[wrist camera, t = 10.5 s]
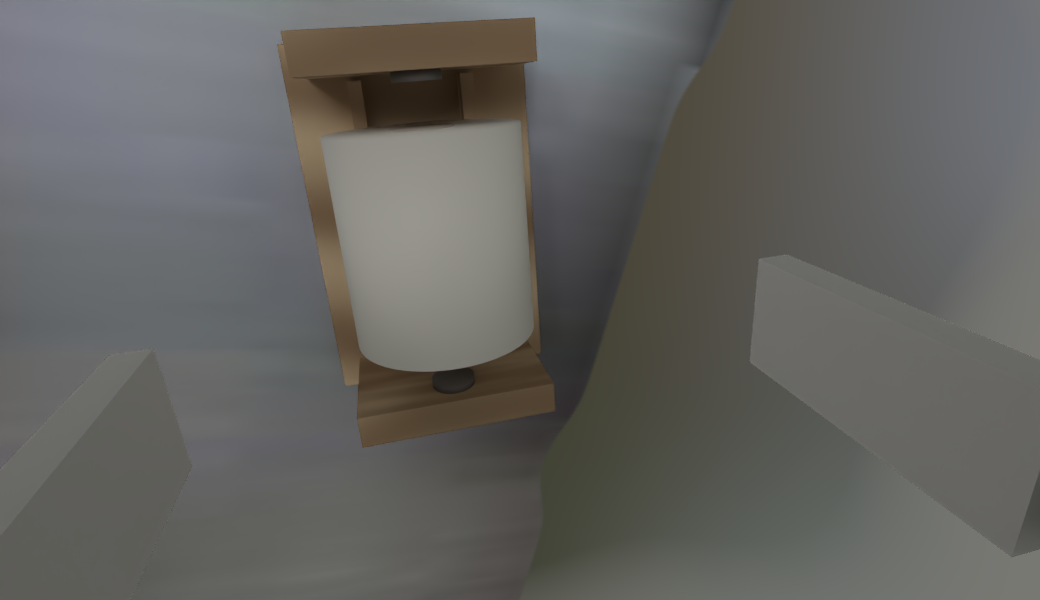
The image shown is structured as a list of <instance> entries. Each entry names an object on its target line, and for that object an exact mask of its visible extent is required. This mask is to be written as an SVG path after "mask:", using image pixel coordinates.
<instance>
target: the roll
mask: <svg viewBox="0 0 1040 600" xmlns="http://www.w3.org/2000/svg"><path fill="white" fill-rule="evenodd" d="M320 140H321V145H322V151H323V156H324V161H325V167H326V172H327V177H328V183H329V188H330V194H331V199H332V204H333V210H334V215H335V220H336V226H337V231H338V236H339V242H340V247H341V252H342V258H343V263H344V269H345V274H346V279H347V285H348V290H349V295H350V301H351V306H352V311H353V317H354V322H355V327H356V333H357V338H358V344H359V349H360V351H361V353H362V354H363V355H364V356H365V357H366V358H367V359H368V360H370V361H371V362H373V363H376V364H378V365H381V366H384V367H387V368H391V369H396V370H403V371H416V372H433V371H446V370H453V369H460V368H465V367H470V366H474V365H478V364H482V363H485V362H488V361H491V360H494V359H497V358H499V357H501V356H504V355H506V354H508V353H510V352H512V351H513V350H515V349H516V348H518V347H520V346H521V345H522V344H523V343H524V342H526V341H527V339H528V338H529V337H530V336H531V334H532V332H533V329H534V318H533V303H532V287H531V272H530V256H529V241H528V226H527V210H526V195H525V179H524V164H523V149H522V133H521V121H520V120H517V119H505V118H485V119H459V120H442V121H428V122H416V123H405V124H395V125H385V126H377V127H368V128H361V129H354V130H347V131H341V132H336V133H331V134H327V135H324V136H322V137H320Z"/></svg>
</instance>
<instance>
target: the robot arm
mask: <svg viewBox="0 0 1040 600" xmlns="http://www.w3.org/2000/svg"><path fill="white" fill-rule="evenodd" d="M754 307H755V308H754V318H753V329H752V340H751V352H750V363H751V364H753V365H754V366H755V367H757V368H758V369H759V370H761V371H762V372H763V373H765V374H766V375H767V376H769V377H770V378H772V379H773V380H774V381H776V382H777V383H778V384H780V385H781V386H782V387H784V388H785V389H786V390H788V391H789V392H790V393H792V394H793V395H794V396H796V397H797V398H798V399H800V400H801V401H802V402H804V403H805V404H806V405H808V406H809V407H811V408H812V409H813V410H815V411H816V412H817V413H819V414H820V415H821V416H823V417H824V418H825V419H827V420H828V421H829V422H831V423H832V424H833V425H835V426H836V427H837V428H839V429H840V430H841V431H843V432H844V433H845V434H847V435H848V436H849V437H851V438H852V439H854V440H855V441H856V442H858V443H859V444H860V445H862V446H863V447H865V448H866V449H867V450H868V451H870V452H871V453H872V454H874V455H875V456H876V457H878V458H879V459H880V460H882V461H883V462H885V463H886V464H887V465H888V466H890V467H891V468H893V469H894V470H895V471H897V472H898V473H900V474H901V475H902V476H903V477H905V478H906V479H907V480H909V481H910V482H911V483H913V484H914V485H915V486H917V487H918V488H919V489H921V490H922V491H923V492H925V493H926V494H928V495H929V496H930V497H931V498H933V499H934V500H936V501H937V502H938V503H940V504H941V505H942V506H944V507H945V508H946V509H948V510H949V511H951V512H952V513H953V514H954V515H956V516H957V517H958V518H960V519H961V520H962V521H964V522H965V523H967V524H968V525H969V526H970V527H972V528H973V529H975V530H976V531H977V532H979V533H980V534H981V535H983V536H984V537H985V538H987V539H988V540H989V541H991V542H992V543H993V544H995V545H996V546H997V547H999V548H1000V549H1002V550H1003V551H1004V552H1005V553H1007V554H1008V555H1010V556H1011V557H1014V556H1018V555H1021V554H1025V553H1028V552H1032V551H1035V550H1039V549H1040V360H1039V359H1036V358H1034V357H1031V356H1029V355H1027V354H1024V353H1022V352H1019V351H1017V350H1014V349H1012V348H1010V347H1007V346H1005V345H1002V344H1000V343H998V342H995V341H993V340H991V339H988V338H986V337H983V336H981V335H978V334H976V333H974V332H972V331H969V330H967V329H964V328H962V327H959V326H957V325H955V324H952V323H950V322H948V321H945V320H943V319H940V318H938V317H935V316H933V315H931V314H928V313H926V312H924V311H921V310H919V309H916V308H914V307H911V306H909V305H907V304H904V303H902V302H900V301H897V300H895V299H892V298H890V297H888V296H885V295H883V294H881V293H878V292H876V291H873V290H871V289H869V288H866V287H864V286H861V285H859V284H857V283H854V282H852V281H849V280H847V279H844V278H842V277H840V276H837V275H835V274H833V273H830V272H828V271H825V270H823V269H820V268H818V267H816V266H813V265H811V264H809V263H806V262H804V261H801V260H799V259H797V258H794V257H792V256H790V255H781V256H774V257H767V258H761V259H759V263H758V273H757V285H756V295H755V306H754ZM191 468H192V463H191V460H190V457H189V454H188V451H187V448H186V445H185V442H184V439H183V436H182V433H181V430H180V427H179V424H178V421H177V418H176V415H175V412H174V409H173V406H172V403H171V400H170V397H169V394H168V391H167V388H166V385H165V382H164V379H163V376H162V373H161V370H160V367H159V364H158V361H157V358H156V355H155V352H154V349H147V350H140V351H133V352H127V353H120V354H113V355H109V356H108V357H107V358H106V359H105V360H104V361H103V362H102V363H101V364H100V365H99V366H98V367H97V369H96V370H95V371H94V372H93V373H92V374H91V375H90V376H89V377H88V378H87V379H86V380H85V381H84V382H83V383H82V384H81V385H80V386H79V387H78V388H77V389H76V391H75V392H74V393H73V394H72V395H71V396H70V397H69V398H68V399H67V400H66V401H65V402H64V403H63V404H62V405H61V406H60V407H59V408H58V409H57V410H56V411H55V412H54V414H53V415H52V416H51V417H50V418H49V419H48V420H47V421H46V422H45V423H44V424H43V425H42V426H41V427H40V428H39V429H38V430H37V431H36V432H35V433H34V434H33V435H32V437H31V438H30V439H29V440H28V441H27V442H26V443H25V444H24V445H23V446H22V447H21V448H20V449H19V450H18V451H17V452H16V453H15V454H14V455H13V456H12V457H11V458H10V460H9V461H8V462H7V463H6V464H5V465H4V466H3V467H2V468H1V469H0V600H130V599H131V597H132V595H133V593H134V591H135V588H136V586H137V584H138V582H139V580H140V578H141V576H142V573H143V571H144V569H145V567H146V565H147V563H148V561H149V558H150V556H151V554H152V552H153V550H154V548H155V545H156V543H157V541H158V539H159V537H160V535H161V533H162V530H163V528H164V526H165V524H166V522H167V520H168V517H169V515H170V513H171V511H172V509H173V507H174V505H175V502H176V500H177V498H178V496H179V494H180V492H181V490H182V487H183V485H184V483H185V481H186V479H187V477H188V474H189V472H190V470H191Z"/></svg>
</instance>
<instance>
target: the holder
mask: <svg viewBox="0 0 1040 600" xmlns="http://www.w3.org/2000/svg"><path fill="white" fill-rule="evenodd" d="M281 35H282V40H283V44H277V47H278V52H279V57H280V62H281V67H282V72H283V77H284V82H285V87H286V92H287V97H288V102H289V107H290V112H291V117H292V122H293V127H294V132H295V137H296V142H297V147H298V152H299V157H300V162H301V167H302V172H303V176H304V181H305V186H306V191H307V196H308V201H309V206H310V211H311V216H312V221H313V226H314V231H315V236H316V241H317V246H318V251H319V256H320V261H321V266H322V271H323V276H324V281H325V286H326V291H327V296H328V301H329V306H330V311H331V316H332V321H333V326H334V331H335V336H336V341H337V346H338V351H339V356H340V361H341V366H342V371H343V376H344V381H345V386H349V385H355V384H359V387H358V409H357V421H358V426H359V432H360V437H361V442H362V447H363V448H364V447H369V446H374V445H379V444H385V443H390V442H395V441H400V440H406V439H411V438H416V437H421V436H427V435H432V434H437V433H442V432H448V431H453V430H458V429H463V428H469V427H474V426H479V425H484V424H490V423H495V422H500V421H506V420H511V419H516V418H521V417H527V416H532V415H537V414H542V413H548V412H553V411H555V395H554V383H553V381H552V380H551V378H550V376H549V375H548V373H547V371H546V370H545V368H544V366H543V365H542V363H541V362H540V360H539V358H538V357H537V355H536V354H539V353H541V345H540V328H539V312H538V295H537V279H536V262H535V245H534V229H533V212H532V196H531V179H530V162H529V146H528V129H527V112H526V96H525V79H524V63H527V62H534V61H537V51H536V32H535V18H516V19H497V20H478V21H459V22H440V23H421V24H402V25H383V26H364V27H344V28H325V29H306V30H287V31H281ZM485 118H505V119H517V120H520V121H521V133H522V149H523V164H524V179H525V195H526V210H527V226H528V241H529V256H530V272H531V287H532V303H533V318H534V329H533V332H532V334H531V336H530V337H529V338H528V339H527V341H526V342H524V343H523V344H522V345H521V346H520V347H518V348H516V349H515V350H513V351H512V352H510V353H508V354H506V355H504V356H501V357H499V358H497V359H494V360H491V361H488V362H485V363H482V364H478V365H474V366H470V367H465V368H460V369H453V370H446V371H433V372H416V371H403V370H396V369H391V368H387V367H384V366H381V365H378V364H376V363H373V362H371V361H370V360H368V359H367V358H366V357H365V356H364V355H363V354H362V353H361V351H360V349H359V344H358V338H357V333H356V327H355V322H354V317H353V311H352V306H351V301H350V295H349V290H348V285H347V279H346V274H345V269H344V263H343V258H342V252H341V247H340V242H339V236H338V231H337V226H336V220H335V215H334V210H333V204H332V199H331V194H330V188H329V183H328V177H327V172H326V167H325V161H324V156H323V151H322V145H321V140H320V137H322V136H324V135H327V134H331V133H336V132H341V131H347V130H354V129H361V128H368V127H377V126H385V125H395V124H405V123H416V122H428V121H442V120H459V119H485Z"/></svg>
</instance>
